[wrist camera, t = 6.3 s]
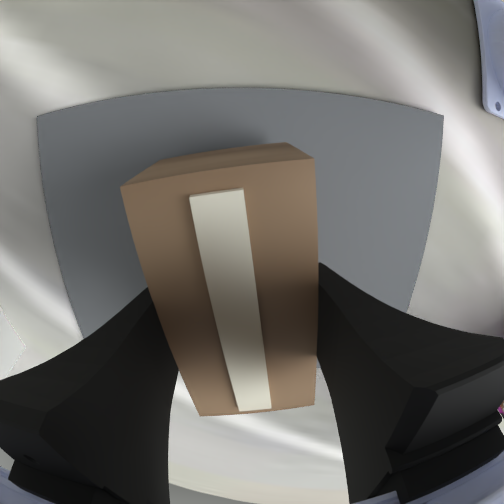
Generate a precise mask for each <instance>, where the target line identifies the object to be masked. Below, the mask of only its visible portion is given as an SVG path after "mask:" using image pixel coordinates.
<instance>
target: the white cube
mask: <svg viewBox="0 0 504 504" xmlns="http://www.w3.org/2000/svg"><path fill="white" fill-rule="evenodd" d="M25 348H26V346H25V344H24V343H23V341H22V340H21V338H20V337H19V335H18V334H17V332H16V331H15V329H14V328H13V326H12V324H11V323H10V321H9V320H8V318H7V316H6V315H5V313H4V311H3V310H2V308H1V306H0V380H2V379H5V378H7V376H8V374H9V373H10V371H11V370H12V368H13V366H14V365H15V363H16V362H17V360H18V359H19V357H20V356H21V354H22V353H23V351H24V350H25Z"/></svg>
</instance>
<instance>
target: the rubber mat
mask: <svg viewBox="0 0 504 504" xmlns="http://www.w3.org/2000/svg"><path fill="white" fill-rule="evenodd" d="M443 121H444V116H443V115H440V114H436V113H433V112H429V111H425V110H421V109H417V108H413V107H409V106H404V105H400V104H395V103H390V102H385V101H380V100H375V99H369V98H363V97H357V96H350V95H343V94H335V93H326V92H317V91H306V90H293V89H275V88H206V89H188V90H175V91H165V92H155V93H147V94H139V95H132V96H125V97H119V98H113V99H108V100H102V101H97V102H92V103H87V104H83V105H78V106H74V107H70V108H66V109H62V110H58V111H54V112H50V113H47V114H43V115H40V116H37V129H38V145H39V157H40V166H41V175H42V182H43V189H44V196H45V202H46V208H47V213H48V218H49V223H50V228H51V233H52V237H53V242H54V246H55V250H56V254H57V258H58V262H59V266H60V269H61V273H62V276H63V280H64V283H65V286H66V290H67V293H68V296H69V299H70V302H71V305H72V308H73V311H74V314H75V317H76V319H77V322H78V325H79V327H80V330H81V333H82V335H83V338H84V339H85V338H86V337H88V336H89V335H91V334H92V333H93V332H95V331H96V330H97V329H99V328H100V327H101V326H102V325H104V324H105V323H106V322H107V321H108V320H110V319H111V318H112V317H113V316H115V315H116V314H117V313H118V312H119V311H121V310H122V309H123V308H124V307H125V306H126V305H127V304H128V303H130V302H131V301H132V300H133V299H134V298H135V297H136V296H138V295H139V294H140V293H141V292H142V291H143V290H144V289H146V288H147V287H148V286H147V283H146V280H145V277H144V273H143V270H142V267H141V264H140V260H139V257H138V254H137V250H136V247H135V244H134V240H133V236H132V233H131V229H130V225H129V222H128V218H127V214H126V210H125V206H124V202H123V198H122V194H121V189H120V186H122V185H123V184H125V183H126V182H127V181H129V180H130V179H132V178H133V177H135V176H136V175H138V174H139V173H141V172H142V171H144V170H145V169H147V168H148V167H150V166H151V165H153V164H155V163H156V162H158V161H159V160H162V159H167V158H172V157H178V156H183V155H189V154H195V153H201V152H208V151H214V150H221V149H228V148H236V147H244V146H252V145H261V144H271V143H281V142H287V143H289V144H291V145H292V146H294V147H296V148H297V149H299V150H301V151H303V152H304V153H306V154H308V155H309V156H311V157H313V158H314V162H315V178H316V198H317V223H318V263H320V262H321V263H323V264H324V265H326V266H327V267H329V268H330V269H331V270H333V271H334V272H336V273H337V274H339V275H340V276H341V277H343V278H344V279H346V280H347V281H349V282H350V283H352V284H353V285H355V286H356V287H358V288H359V289H361V290H363V291H364V292H366V293H368V294H369V295H371V296H373V297H374V298H376V299H378V300H380V301H382V302H383V303H385V304H387V305H389V306H391V307H394V308H396V309H398V310H400V311H402V312H404V313H406V312H407V309H408V306H409V303H410V300H411V296H412V293H413V290H414V287H415V283H416V280H417V276H418V272H419V269H420V265H421V261H422V257H423V253H424V249H425V245H426V241H427V236H428V232H429V227H430V222H431V217H432V212H433V206H434V201H435V195H436V188H437V182H438V174H439V167H440V158H441V148H442V137H443ZM316 368H321V367H320V364H319V362H318V359H317V365H316Z"/></svg>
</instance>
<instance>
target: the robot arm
mask: <svg viewBox="0 0 504 504" xmlns="http://www.w3.org/2000/svg"><path fill="white" fill-rule="evenodd" d="M474 5H475V11H476V17H477V24H478V31H479V39H480V49H481V62H482V87H483V106H484V109H485V110H486V111H487V112H489V113H491V114H493V115H495V116H498V117H500V118H502V119H504V2H502V1H501V0H474ZM495 104H496V107H495ZM316 356H317V359H318V362H319V364H320V367H321V370H322V372H323V375H324V378H325V381H326V383H327V386H328V389H329V392H330V396H331V399H332V404H333V408H334V413H335V417H336V422H337V427H338V432H339V437H340V442H341V447H342V453H343V459H344V465H345V471H346V479H347V486H348V494H349V503H350V504H504V435H503V433H502V432H501V430H500V428H499V426H498V424H500V423H501V421H502V417H501V415H500V413H499V412H498V410H497V409H498V408H499V407H500V405H501V404H502V402H503V401H504V339H503V338H500V337H493V336H486V335H480V334H473V333H468V332H463V331H459V330H455V329H451V328H447V327H444V326H440V325H437V324H434V323H431V322H428V321H425V320H422V319H419V318H417V317H414V316H412V315H409V314H407V313H404V312H402V311H400V310H398V309H396V308H394V307H391V306H389V305H387V304H385V303H383V302H382V301H380V300H378V299H376V298H374V297H373V296H371V295H369V294H368V293H366V292H364V291H363V290H361V289H359V288H358V287H356V286H355V285H353V284H352V283H350V282H349V281H347V280H346V279H344V278H343V277H341V276H340V275H339V274H337V273H336V272H334V271H333V270H331V269H330V268H329V267H327V266H326V265H324V264H323V263H321V262H320V263H318V332H317V355H316ZM178 371H179V369H178V366H177V364H176V361H175V359H174V357H173V354H172V352H171V349H170V347H169V344H168V341H167V339H166V336H165V333H164V331H163V328H162V325H161V323H160V320H159V317H158V314H157V311H156V308H155V306H154V303H153V301H152V298H151V295H150V292H149V289H148V287H147V288H146V289H144V290H143V291H142V292H141V293H140V294H139V295H138V296H136V297H135V298H134V299H133V300H132V301H131V302H130V303H128V304H127V305H126V306H125V307H124V308H123V309H122V310H121V311H119V312H118V313H117V314H116V315H115V316H113V317H112V318H111V319H110V320H108V321H107V322H106V323H105V324H104V325H102V326H101V327H100V328H99V329H97V330H96V331H95V332H93V333H92V334H91V335H89V336H88V337H86V338H85V339H83V340H82V341H80V342H79V343H78V344H76V345H74V346H73V347H71V348H69V349H68V350H66V351H64V352H62V353H61V354H59V355H57V356H55V357H54V358H52V359H50V360H48V361H46V362H44V363H42V364H40V365H38V366H36V367H33V368H31V369H29V370H27V371H24V372H22V373H19V374H17V375H14V376H11V377H8V378H5V379H2V380H0V447H1V449H3V450H4V451H5V452H6V453H7V454H8V455H9V456H11V457H12V458H13V459H14V460H15V461H14V464H13V466H12V469H11V471H9V470H7V469H5V468H3V467H1V466H0V504H170V498H169V483H168V439H169V422H170V411H171V404H172V399H173V394H174V389H175V385H176V380H177V375H178Z"/></svg>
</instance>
